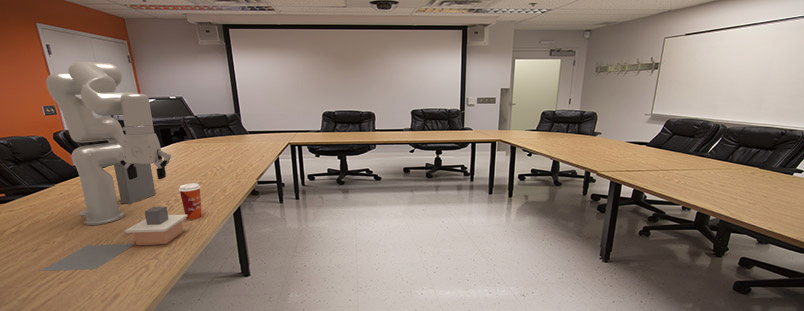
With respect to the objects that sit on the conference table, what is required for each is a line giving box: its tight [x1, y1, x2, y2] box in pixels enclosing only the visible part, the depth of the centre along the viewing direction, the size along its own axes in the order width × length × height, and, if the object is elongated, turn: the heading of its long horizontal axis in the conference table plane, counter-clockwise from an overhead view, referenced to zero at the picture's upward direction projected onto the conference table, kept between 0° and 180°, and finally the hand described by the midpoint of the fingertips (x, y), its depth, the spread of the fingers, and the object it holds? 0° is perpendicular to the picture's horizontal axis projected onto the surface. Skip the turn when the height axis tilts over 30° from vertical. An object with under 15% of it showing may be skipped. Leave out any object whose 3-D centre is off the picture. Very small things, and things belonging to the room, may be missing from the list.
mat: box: [39, 243, 136, 272], centre depth 104 cm, size 16×16×1 cm
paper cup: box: [178, 182, 203, 220], centre depth 136 cm, size 8×8×14 cm
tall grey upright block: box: [113, 164, 157, 205], centre depth 158 cm, size 14×6×25 cm, turn 172°
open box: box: [133, 220, 185, 246], centre depth 116 cm, size 10×10×6 cm
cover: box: [124, 206, 188, 234], centre depth 115 cm, size 13×13×6 cm
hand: (147, 178), depth 114 cm, fingers open, 9 cm apart
